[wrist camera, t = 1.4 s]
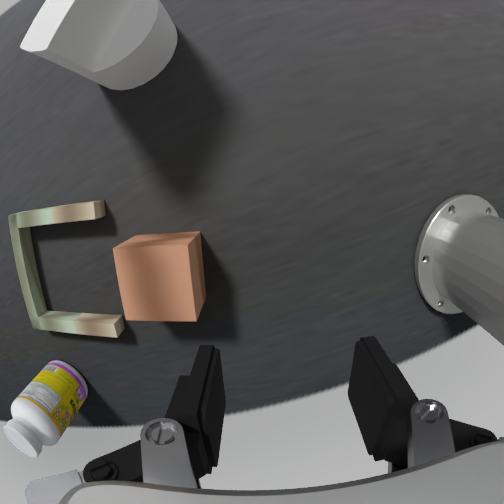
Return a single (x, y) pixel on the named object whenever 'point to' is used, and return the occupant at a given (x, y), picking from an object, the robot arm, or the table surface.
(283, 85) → the table surface
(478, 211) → the robot arm
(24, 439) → the supplement bottle
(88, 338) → the table surface
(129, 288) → the terracotta block
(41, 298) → the walled lane
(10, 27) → the table surface
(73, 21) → the base with upright slab
